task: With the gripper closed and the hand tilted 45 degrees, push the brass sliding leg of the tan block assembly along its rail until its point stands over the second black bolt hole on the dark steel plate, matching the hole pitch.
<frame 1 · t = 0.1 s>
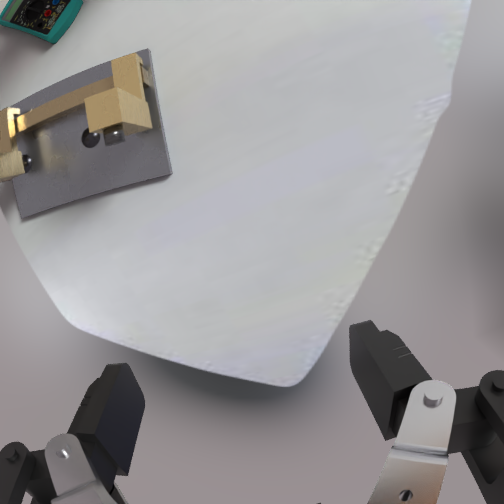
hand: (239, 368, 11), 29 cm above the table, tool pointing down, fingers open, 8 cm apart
sliding leg: (122, 95, 26), point 8 cm above the table, slide at 0.0 cm
digital multimeter: (41, 14, 27), on the table
flange plate: (76, 136, 34), on the table
tan block assembly: (72, 107, 32), resting on flange plate
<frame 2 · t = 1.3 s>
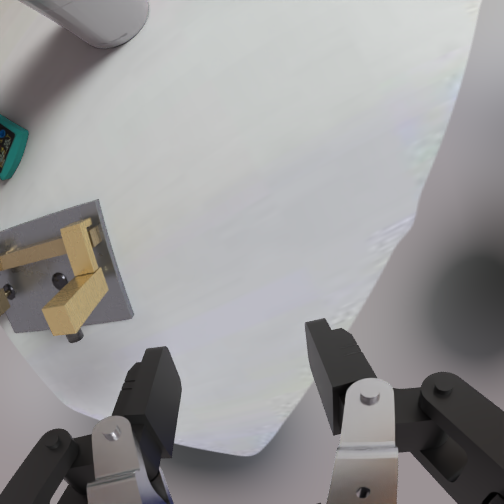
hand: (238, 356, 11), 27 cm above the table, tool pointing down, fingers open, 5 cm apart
sliding leg: (74, 276, 30), point 8 cm above the table, slide at 0.0 cm
flange plate: (48, 274, 38), on the table
tan block assembly: (39, 247, 37), resting on flange plate
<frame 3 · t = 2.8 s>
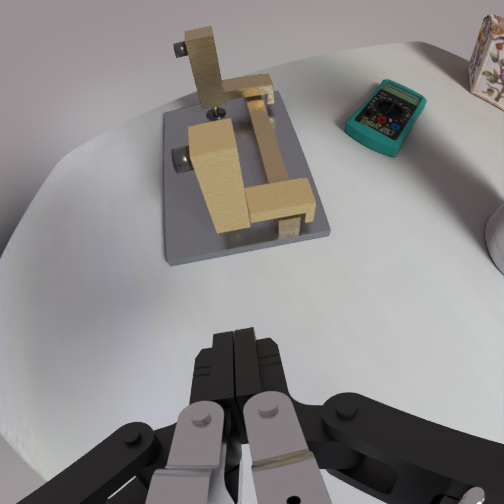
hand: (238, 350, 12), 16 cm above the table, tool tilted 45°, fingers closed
decorative jar: (491, 93, 42), on the table
sliding leg: (251, 184, 25), point 8 cm above the table, slide at 0.0 cm
digital multimeter: (387, 121, 39), on the table
flange plate: (233, 163, 36), on the table
tan block assembly: (267, 157, 36), resting on flange plate
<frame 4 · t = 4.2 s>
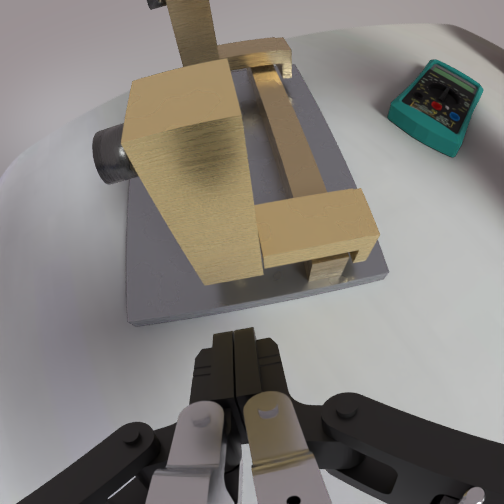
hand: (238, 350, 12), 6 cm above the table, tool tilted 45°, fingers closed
sliding leg: (268, 201, 13), point 8 cm above the table, slide at 0.0 cm
digital multimeter: (438, 111, 27), on the table
flange plate: (232, 162, 24), on the table
tan block assembly: (283, 153, 24), resting on flange plate
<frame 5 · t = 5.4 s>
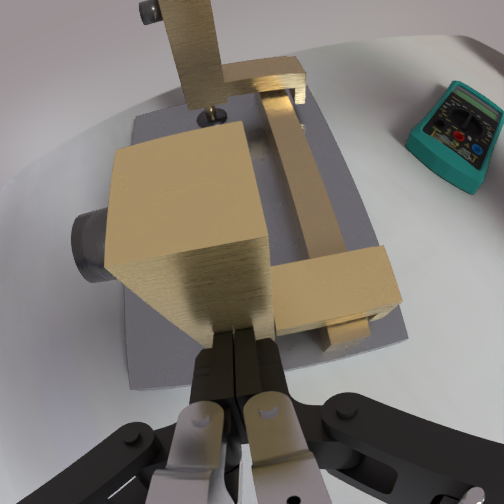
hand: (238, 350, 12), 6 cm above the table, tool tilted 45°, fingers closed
sliding leg: (285, 276, 11), point 8 cm above the table, slide at 0.8 cm, touching gripper
digital multimeter: (458, 138, 25), on the table
flange plate: (239, 204, 22), on the table
tan block assembly: (296, 194, 22), resting on flange plate
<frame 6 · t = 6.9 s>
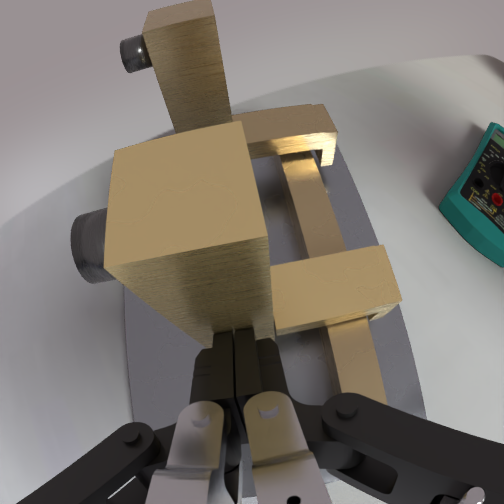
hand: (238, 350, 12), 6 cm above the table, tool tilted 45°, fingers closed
sliding leg: (284, 276, 11), point 8 cm above the table, slide at 7.6 cm, touching gripper
digital multimeter: (493, 193, 22), on the table
flange plate: (256, 298, 19), on the table
tan block assembly: (321, 285, 19), resting on flange plate
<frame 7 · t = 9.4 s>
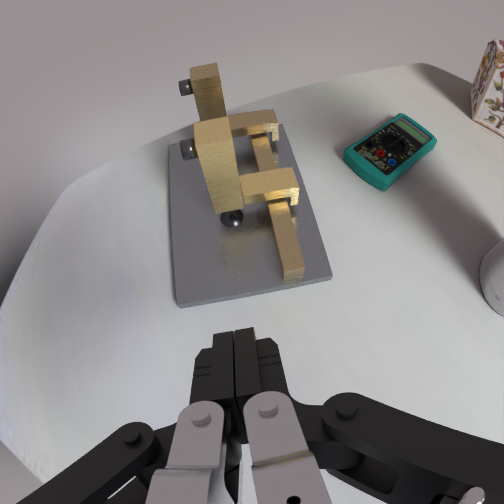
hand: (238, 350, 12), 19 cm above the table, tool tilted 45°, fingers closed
decorative jar: (492, 118, 44), on the table
sliding leg: (244, 171, 30), point 8 cm above the table, slide at 7.7 cm
digital multimeter: (390, 155, 41), on the table
flange plate: (238, 203, 38), on the table
tan block assembly: (271, 197, 38), resting on flange plate
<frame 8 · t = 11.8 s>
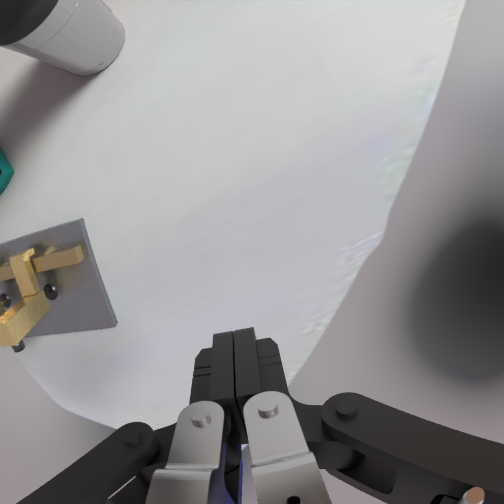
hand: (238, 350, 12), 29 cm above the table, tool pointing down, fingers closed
sliding leg: (19, 298, 33), point 8 cm above the table, slide at 7.7 cm
flange plate: (40, 285, 41), on the table
tan block assembly: (31, 261, 39), resting on flange plate
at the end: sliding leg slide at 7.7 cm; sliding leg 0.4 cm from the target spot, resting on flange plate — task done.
